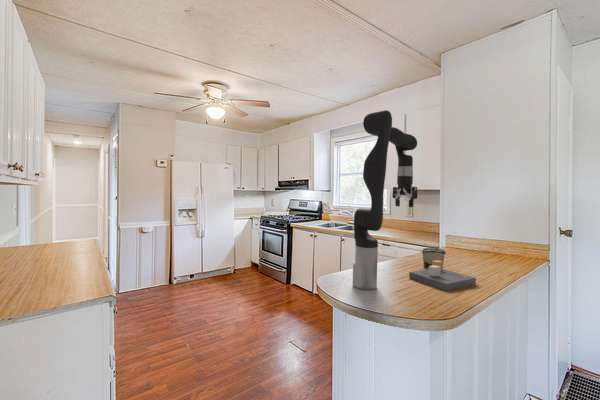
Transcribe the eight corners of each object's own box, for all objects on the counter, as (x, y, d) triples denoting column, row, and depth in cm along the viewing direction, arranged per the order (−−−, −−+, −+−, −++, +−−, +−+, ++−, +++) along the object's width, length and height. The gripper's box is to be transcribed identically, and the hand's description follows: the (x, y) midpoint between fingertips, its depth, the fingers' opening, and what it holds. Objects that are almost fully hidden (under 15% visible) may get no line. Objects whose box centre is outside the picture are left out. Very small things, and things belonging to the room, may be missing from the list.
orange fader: (437, 270, 132) (437, 262, 132) (431, 269, 135) (431, 260, 135) (442, 269, 134) (442, 261, 134) (437, 268, 137) (437, 260, 137)
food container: (440, 266, 154) (441, 248, 154) (445, 269, 148) (446, 250, 148) (417, 265, 156) (418, 247, 155) (421, 268, 150) (422, 249, 149)
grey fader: (434, 276, 122) (434, 267, 122) (428, 274, 125) (428, 266, 125) (440, 275, 124) (440, 266, 124) (434, 273, 127) (434, 265, 127)
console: (446, 291, 114) (446, 283, 114) (409, 278, 131) (409, 271, 131) (475, 284, 123) (475, 277, 123) (437, 273, 140) (437, 267, 140)
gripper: (389, 175, 148) (388, 206, 148) (411, 174, 135) (410, 207, 136) (399, 176, 151) (398, 206, 152) (421, 175, 139) (420, 207, 139)
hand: (404, 206), depth 144 cm, fingers open, 8 cm apart
